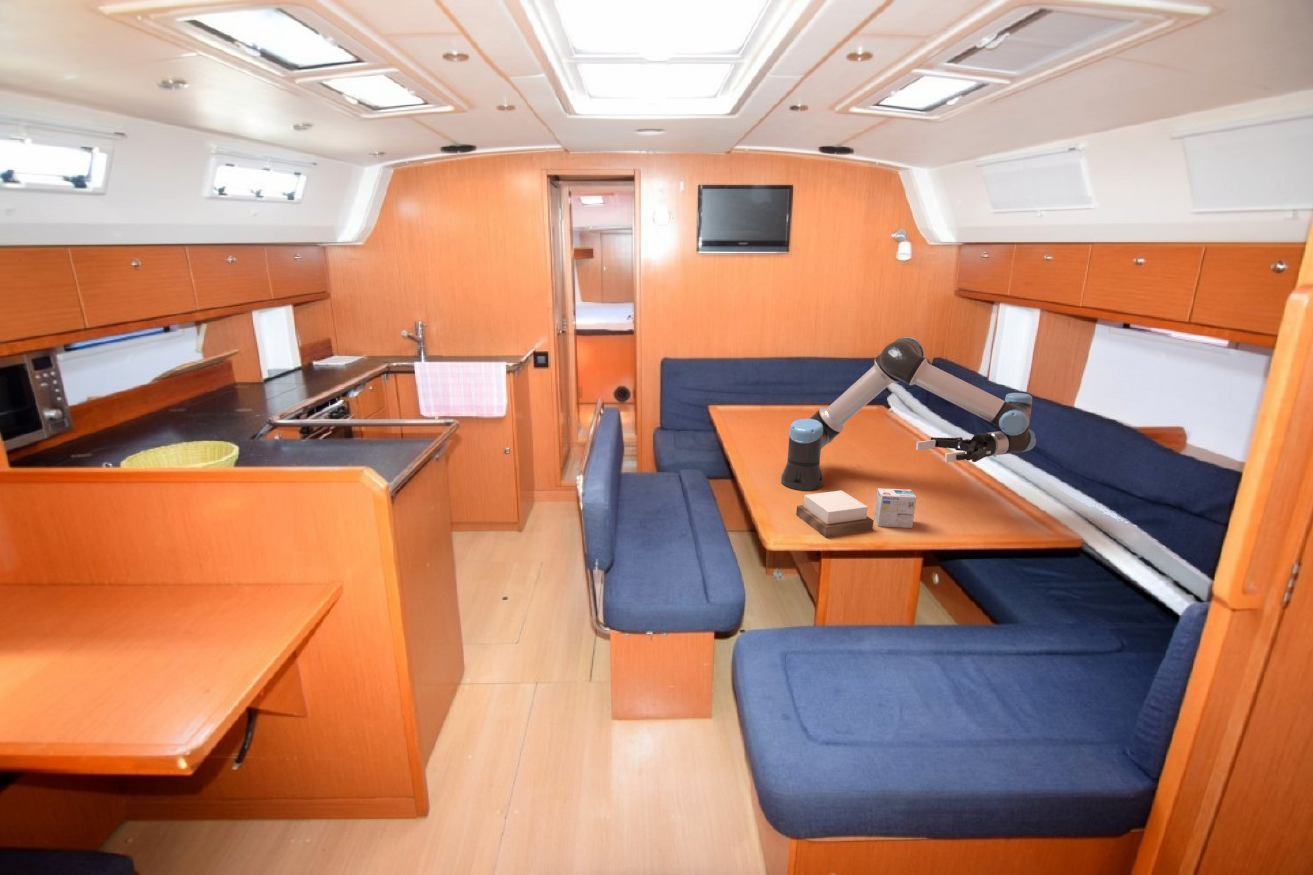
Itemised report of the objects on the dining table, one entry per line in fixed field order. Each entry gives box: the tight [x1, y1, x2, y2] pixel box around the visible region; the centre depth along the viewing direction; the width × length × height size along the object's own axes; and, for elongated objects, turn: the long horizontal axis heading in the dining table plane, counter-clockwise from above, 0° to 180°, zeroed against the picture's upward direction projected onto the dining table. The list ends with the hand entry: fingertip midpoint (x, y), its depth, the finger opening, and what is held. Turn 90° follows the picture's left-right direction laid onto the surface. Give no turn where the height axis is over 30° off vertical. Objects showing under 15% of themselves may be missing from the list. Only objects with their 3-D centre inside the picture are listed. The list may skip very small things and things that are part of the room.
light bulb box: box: [873, 487, 917, 529], centre depth 195 cm, size 11×7×11 cm, turn 84°
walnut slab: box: [795, 504, 875, 538], centre depth 196 cm, size 17×17×4 cm
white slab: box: [802, 490, 869, 524], centre depth 195 cm, size 14×14×4 cm
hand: (930, 451), depth 193 cm, fingers open, 13 cm apart
